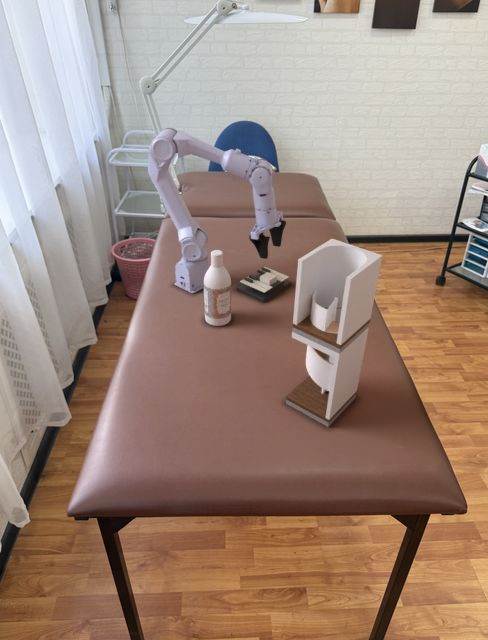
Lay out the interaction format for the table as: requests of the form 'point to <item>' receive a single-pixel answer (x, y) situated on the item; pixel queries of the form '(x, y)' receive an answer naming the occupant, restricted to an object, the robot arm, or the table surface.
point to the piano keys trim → (262, 287)
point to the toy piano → (261, 295)
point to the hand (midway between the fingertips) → (270, 251)
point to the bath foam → (217, 291)
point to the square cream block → (268, 278)
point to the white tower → (332, 325)
